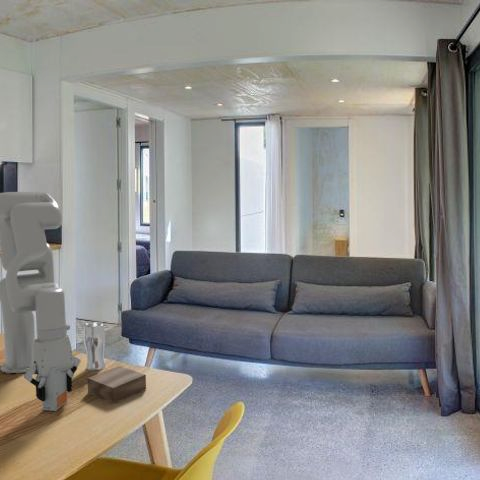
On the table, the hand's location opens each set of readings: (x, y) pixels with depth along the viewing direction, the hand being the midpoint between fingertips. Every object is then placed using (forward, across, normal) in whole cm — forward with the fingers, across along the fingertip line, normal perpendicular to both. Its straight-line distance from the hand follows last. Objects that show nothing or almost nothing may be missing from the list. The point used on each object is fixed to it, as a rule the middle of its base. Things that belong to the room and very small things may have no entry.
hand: (54, 394), depth 135 cm
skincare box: (+4, 0, 0) cm, 4 cm away
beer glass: (+3, -24, -17) cm, 30 cm away
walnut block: (+4, -17, +5) cm, 18 cm away
